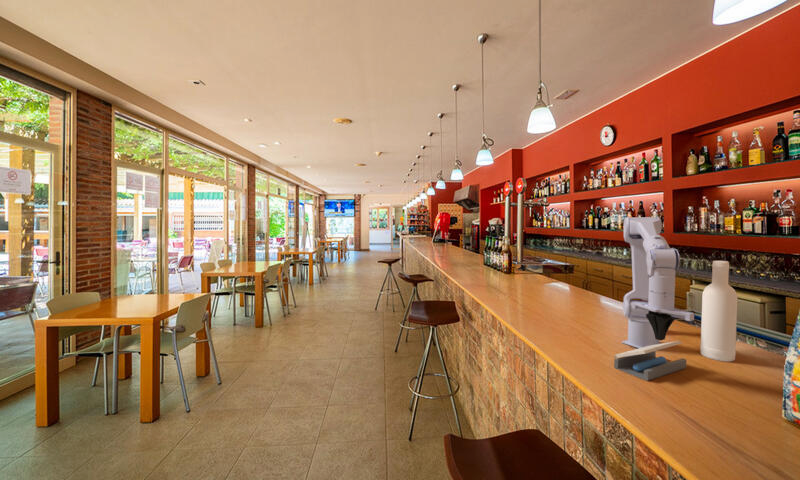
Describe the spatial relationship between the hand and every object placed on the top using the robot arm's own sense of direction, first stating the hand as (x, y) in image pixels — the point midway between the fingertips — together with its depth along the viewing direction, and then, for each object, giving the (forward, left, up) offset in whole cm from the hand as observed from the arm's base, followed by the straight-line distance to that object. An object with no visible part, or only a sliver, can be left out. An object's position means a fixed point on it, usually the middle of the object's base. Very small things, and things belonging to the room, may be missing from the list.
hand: (660, 339), depth 93 cm
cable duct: (0, -2, -9) cm, 10 cm away
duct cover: (0, -3, -4) cm, 5 cm away
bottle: (-27, +2, -10) cm, 29 cm away
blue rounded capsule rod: (0, -2, -9) cm, 10 cm away
